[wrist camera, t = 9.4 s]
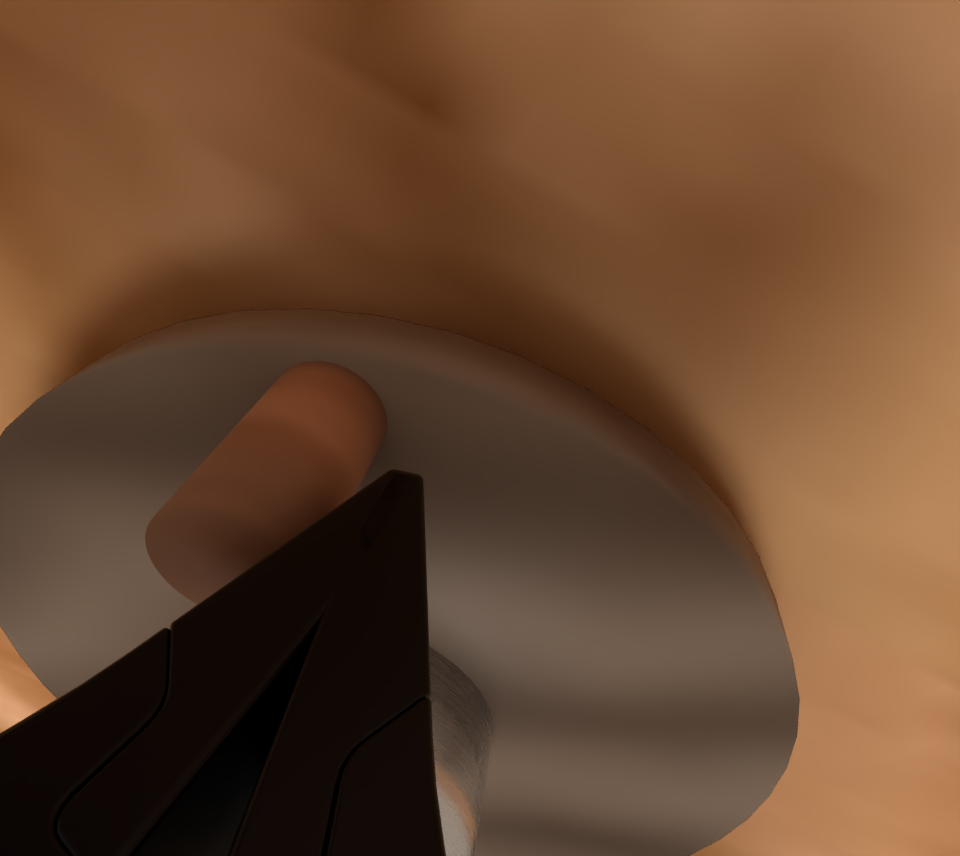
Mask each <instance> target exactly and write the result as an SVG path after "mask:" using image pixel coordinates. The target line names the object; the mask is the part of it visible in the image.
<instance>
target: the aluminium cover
mask: <svg viewBox="0 0 960 856" xmlns="http://www.w3.org/2000/svg"><path fill="white" fill-rule="evenodd" d="M429 650H430V678H431V697H430V700H431V702H432V725H433V744H434V758H435V772H436V786H437V794H438V801H439V808H440V816H441V823H442V830H443V838H444V845H445V851H446V856H474V853H475V847H476V840H477V834H478V828H479V822H480V815H481V809H482V803H483V797H484V790H485V784H486V778H487V772H488V765H489V759H490V753H491V747H492V740H493V732H494V723H493V717H492V713H491V710H490V708H489V705H488V703H487V701H486V699H485V698H484V696H483V694H482V693H481V691H480V690H479V689H478V687H477V686H476V685H475V684H474V682H473V681H472V680H471V679H470V678H469V677H468V676H467V675H466V674H465V673H464V672H463V671H462V670H461V669H460V668H459V667H457V666H456V665H455V664H454V663H452V662H451V661H450V660H448V659H447V658H446V657H444V656H443V655H441V654H440V653H438V652H437V651H435V650H434V649H432V648H431V647H429Z"/></svg>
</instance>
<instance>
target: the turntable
mask: <svg viewBox="0 0 960 856" xmlns="http://www.w3.org/2000/svg"><path fill="white" fill-rule="evenodd" d="M392 469H397V470H402V471H406V472H410V473H414V474H419V475H421V476H422V478H423V483H424V510H425V538H426V566H427V594H428V622H429V647H431V648H432V649H434V650H435V651H437V652H438V653H440V654H441V655H443V656H444V657H446V658H447V659H448V660H450V661H451V662H452V663H454V664H455V665H456V666H457V667H459V668H460V669H461V670H462V671H463V672H464V673H465V674H466V675H467V676H468V677H469V678H470V679H471V680H472V681H473V682H474V684H475V685H476V686H477V687H478V689H479V690H480V691H481V693H482V694H483V696H484V698H485V699H486V701H487V703H488V705H489V708H490V710H491V713H492V717H493V723H494V732H493V740H492V747H491V753H490V759H489V765H488V772H487V778H486V784H485V790H484V797H483V803H482V809H481V815H480V822H479V828H478V834H477V840H476V847H475V853H474V856H689V855H691V854H693V853H695V852H697V851H699V850H701V849H703V848H705V847H707V846H709V845H711V844H712V843H714V842H716V841H718V840H720V839H721V838H723V837H724V836H725V835H727V834H728V833H730V832H731V831H732V830H734V829H735V828H736V827H738V826H739V825H740V824H742V823H743V822H745V821H746V820H747V819H748V818H749V817H750V816H751V815H752V814H753V813H754V812H755V811H756V810H757V809H758V808H759V806H760V805H761V804H762V803H763V802H764V801H765V800H766V799H767V798H768V797H769V796H770V794H771V793H772V791H773V789H774V788H775V786H776V784H777V783H778V781H779V780H780V778H781V776H782V775H783V773H784V771H785V770H786V768H787V765H788V762H789V759H790V756H791V753H792V750H793V747H794V744H795V740H796V737H797V729H798V714H799V700H800V699H799V693H798V687H797V681H796V676H795V670H794V664H793V658H792V655H791V651H790V648H789V644H788V641H787V637H786V634H785V630H784V627H783V623H782V620H781V616H780V613H779V609H778V606H777V602H776V599H775V596H774V593H773V591H772V588H771V586H770V583H769V581H768V578H767V576H766V573H765V571H764V568H763V566H762V563H761V561H760V558H759V556H758V554H757V552H756V551H755V549H754V547H753V546H752V544H751V543H750V541H749V540H748V538H747V536H746V535H745V533H744V532H743V530H742V528H741V527H740V525H739V524H738V522H737V520H736V519H735V517H734V516H733V514H732V512H731V511H730V510H729V509H728V508H727V506H726V505H725V504H724V503H723V502H722V501H721V500H720V499H719V497H718V496H717V495H716V494H715V493H714V492H713V491H712V489H711V488H710V487H709V486H708V485H707V484H706V483H705V481H704V480H703V479H702V478H701V477H700V476H699V475H698V473H697V472H696V471H695V470H694V469H693V468H692V467H691V466H690V465H689V464H687V463H686V462H685V461H684V460H683V459H682V458H680V457H679V456H678V455H677V454H676V453H675V452H673V451H672V450H671V449H670V448H669V447H668V446H666V445H665V444H664V443H663V442H662V441H661V440H659V439H658V438H657V437H656V436H655V435H654V434H652V433H651V432H650V431H649V430H648V429H646V428H645V427H644V426H643V425H641V424H640V423H638V422H637V421H635V420H634V419H632V418H630V417H629V416H627V415H626V414H624V413H623V412H621V411H620V410H618V409H617V408H615V407H614V406H612V405H610V404H609V403H607V402H606V401H604V400H603V399H601V398H600V397H598V396H597V395H595V394H594V393H592V392H590V391H589V390H587V389H586V388H584V387H582V386H580V385H578V384H576V383H574V382H572V381H570V380H568V379H566V378H563V377H561V376H559V375H557V374H555V373H553V372H551V371H549V370H547V369H545V368H543V367H541V366H539V365H537V364H535V363H533V362H531V361H529V360H527V359H525V358H523V357H521V356H518V355H515V354H512V353H509V352H506V351H504V350H501V349H498V348H495V347H492V346H489V345H487V344H484V343H481V342H478V341H475V340H472V339H469V338H467V337H464V336H461V335H458V334H455V333H452V332H449V331H445V330H440V329H436V328H431V327H427V326H422V325H418V324H413V323H409V322H405V321H400V320H396V319H391V318H387V317H382V316H377V315H367V314H357V313H347V312H337V311H327V310H317V309H283V310H250V311H239V312H233V313H227V314H222V315H216V316H210V317H204V318H199V319H193V320H187V321H183V322H180V323H177V324H174V325H171V326H169V327H166V328H163V329H160V330H157V331H154V332H151V333H148V334H146V335H143V336H140V337H137V338H134V339H132V340H131V341H129V342H127V343H125V344H124V345H122V346H120V347H118V348H116V349H115V350H113V351H111V352H109V353H108V354H106V355H104V356H102V357H101V358H99V359H97V360H95V361H94V362H92V363H91V364H89V365H88V366H86V367H85V368H83V369H82V370H80V371H79V372H77V373H76V374H74V375H73V376H71V377H70V378H68V379H67V380H65V381H64V382H63V383H61V384H60V385H58V386H57V387H55V388H54V389H52V390H51V391H49V392H48V393H46V394H45V395H43V396H42V397H40V398H39V399H37V400H36V401H35V402H34V403H33V404H32V405H31V406H30V407H29V408H27V409H26V410H25V411H24V412H23V413H22V414H21V415H20V416H19V417H17V418H16V419H15V420H14V421H13V422H12V423H11V424H10V425H9V426H7V427H6V428H5V430H4V431H3V433H2V434H1V436H0V626H1V628H2V630H3V631H4V633H5V634H6V636H7V637H8V639H9V640H10V642H11V643H12V645H13V646H14V648H15V649H16V651H17V652H18V654H19V655H20V657H21V658H22V659H23V660H24V662H25V663H26V664H27V665H28V667H29V668H30V669H31V670H32V671H33V673H34V674H35V675H36V676H37V678H38V679H39V680H40V681H41V682H42V684H43V685H44V686H45V687H46V688H47V689H48V690H49V691H50V692H51V693H52V694H53V695H54V696H55V697H56V698H57V699H58V698H59V697H61V696H63V695H64V694H66V693H67V692H69V691H71V690H72V689H74V688H76V687H77V686H79V685H81V684H82V683H84V682H85V681H87V680H88V679H90V678H91V677H93V676H94V675H96V674H97V673H99V672H100V671H102V670H103V669H105V668H106V667H108V666H109V665H111V664H112V663H114V662H115V661H117V660H118V659H120V658H121V657H123V656H124V655H126V654H127V653H129V652H130V651H131V650H133V649H134V648H136V647H137V646H139V645H140V644H142V643H143V642H144V641H146V640H147V639H149V638H150V637H152V636H153V635H154V634H156V633H157V632H159V631H160V630H162V629H163V628H168V629H169V630H170V625H171V623H172V622H173V621H175V620H176V619H178V618H179V617H181V616H182V615H183V614H185V613H186V612H188V611H189V610H190V609H192V608H193V607H195V606H196V605H198V604H199V603H200V602H202V601H203V600H205V599H206V598H208V597H209V596H210V595H212V594H213V593H215V592H216V591H218V590H219V589H220V588H222V587H223V586H225V585H226V584H228V583H229V582H230V581H232V580H233V579H235V578H236V577H238V576H239V575H240V574H242V573H243V572H245V571H246V570H247V569H249V568H250V567H252V566H253V565H255V564H256V563H257V562H259V561H260V560H262V559H263V558H265V557H266V556H267V555H269V554H270V553H272V552H273V551H275V550H276V549H277V548H279V547H280V546H282V545H283V544H285V543H286V542H287V541H289V540H290V539H292V538H293V537H295V536H296V535H297V534H299V533H300V532H302V531H303V530H304V529H306V528H307V527H309V526H310V525H312V524H313V523H314V522H316V521H317V520H319V519H320V518H322V517H323V516H324V515H326V514H327V513H329V512H330V511H332V510H333V509H334V508H336V507H337V506H339V505H340V504H342V503H343V502H344V501H346V500H347V499H349V498H350V497H352V496H353V495H354V494H356V493H357V492H359V491H360V490H361V489H363V488H364V487H366V486H367V485H369V484H370V483H371V482H373V481H374V480H376V479H377V478H379V477H380V476H381V475H383V474H384V473H386V472H387V471H389V470H392Z"/></svg>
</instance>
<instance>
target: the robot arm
mask: <svg viewBox="0 0 960 856" xmlns="http://www.w3.org/2000/svg"><path fill="white" fill-rule="evenodd" d="M430 697H431V678H430V650H429V622H428V594H427V566H426V538H425V510H424V483H423V478H422V476H421V475H419V474H414V473H410V472H406V471H402V470H397V469H392V470H389V471H387V472H386V473H384V474H383V475H381V476H380V477H379V478H377V479H376V480H374V481H373V482H371V483H370V484H369V485H367V486H366V487H364V488H363V489H361V490H360V491H359V492H357V493H356V494H354V495H353V496H352V497H350V498H349V499H347V500H346V501H344V502H343V503H342V504H340V505H339V506H337V507H336V508H334V509H333V510H332V511H330V512H329V513H327V514H326V515H324V516H323V517H322V518H320V519H319V520H317V521H316V522H314V523H313V524H312V525H310V526H309V527H307V528H306V529H304V530H303V531H302V532H300V533H299V534H297V535H296V536H295V537H293V538H292V539H290V540H289V541H287V542H286V543H285V544H283V545H282V546H280V547H279V548H277V549H276V550H275V551H273V552H272V553H270V554H269V555H267V556H266V557H265V558H263V559H262V560H260V561H259V562H257V563H256V564H255V565H253V566H252V567H250V568H249V569H247V570H246V571H245V572H243V573H242V574H240V575H239V576H238V577H236V578H235V579H233V580H232V581H230V582H229V583H228V584H226V585H225V586H223V587H222V588H220V589H219V590H218V591H216V592H215V593H213V594H212V595H210V596H209V597H208V598H206V599H205V600H203V601H202V602H200V603H199V604H198V605H196V606H195V607H193V608H192V609H190V610H189V611H188V612H186V613H185V614H183V615H182V616H181V617H179V618H178V619H176V620H175V621H173V622H172V623H171V625H170V630H169V629H168V628H163V629H162V630H160V631H159V632H157V633H156V634H154V635H153V636H152V637H150V638H149V639H147V640H146V641H144V642H143V643H142V644H140V645H139V646H137V647H136V648H134V649H133V650H131V651H130V652H129V653H127V654H126V655H124V656H123V657H121V658H120V659H118V660H117V661H115V662H114V663H112V664H111V665H109V666H108V667H106V668H105V669H103V670H102V671H100V672H99V673H97V674H96V675H94V676H93V677H91V678H90V679H88V680H87V681H85V682H84V683H82V684H81V685H79V686H77V687H76V688H74V689H72V690H71V691H69V692H67V693H66V694H64V695H63V696H61V697H59V698H58V699H56V700H54V701H53V702H51V703H50V704H48V705H46V706H45V707H43V708H41V709H40V710H38V711H36V712H35V713H33V714H32V715H30V716H28V717H27V718H25V719H23V720H22V721H20V722H18V723H17V724H15V725H13V726H12V727H10V728H8V729H7V730H5V731H3V732H1V733H0V856H446V851H445V845H444V838H443V830H442V823H441V816H440V808H439V801H438V794H437V786H436V772H435V758H434V744H433V725H432V702H431V700H430Z"/></svg>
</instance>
